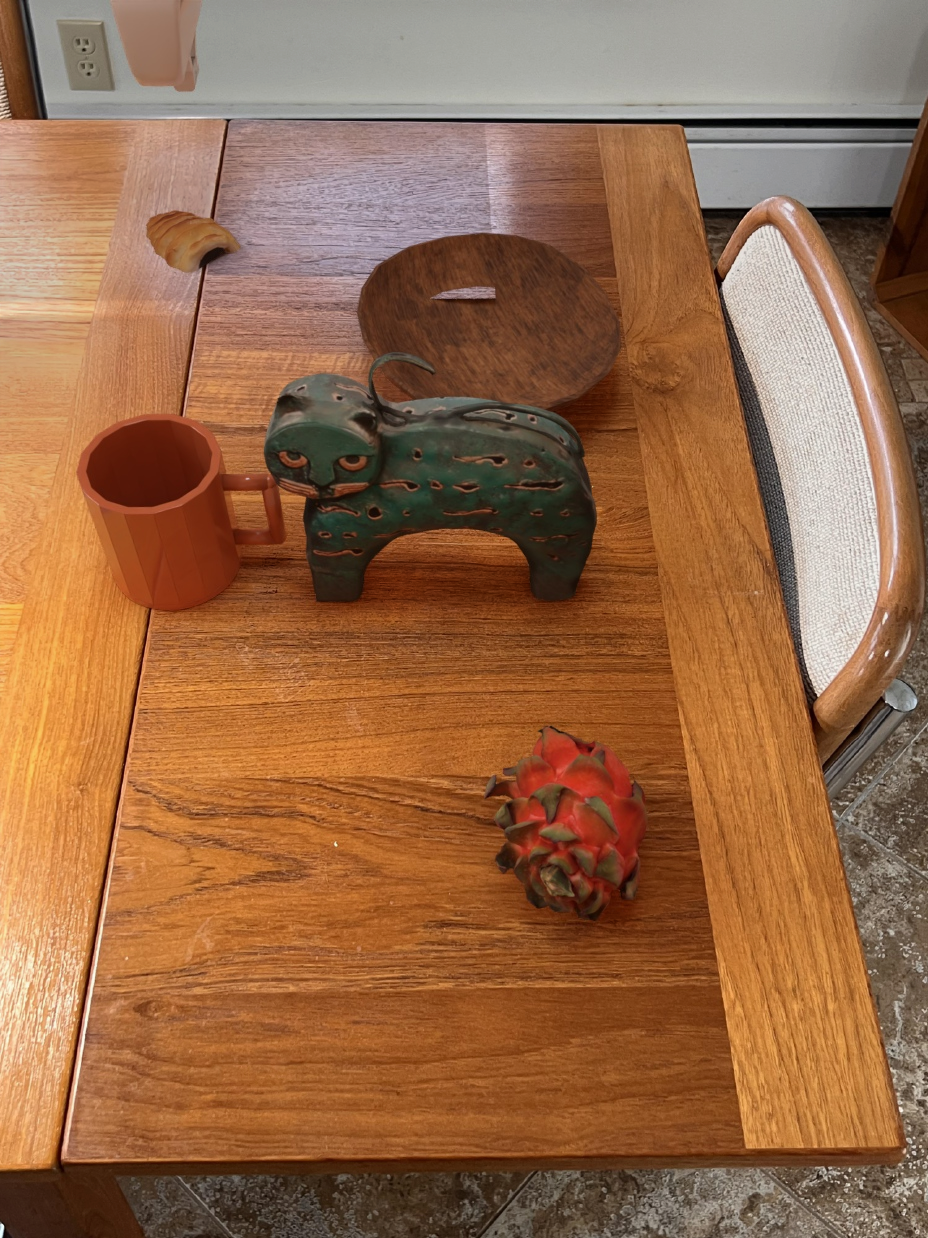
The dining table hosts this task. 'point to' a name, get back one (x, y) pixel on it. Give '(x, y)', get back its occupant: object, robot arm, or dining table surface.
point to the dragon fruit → (571, 825)
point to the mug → (170, 509)
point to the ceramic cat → (428, 477)
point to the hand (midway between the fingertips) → (187, 82)
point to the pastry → (188, 240)
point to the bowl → (490, 321)
